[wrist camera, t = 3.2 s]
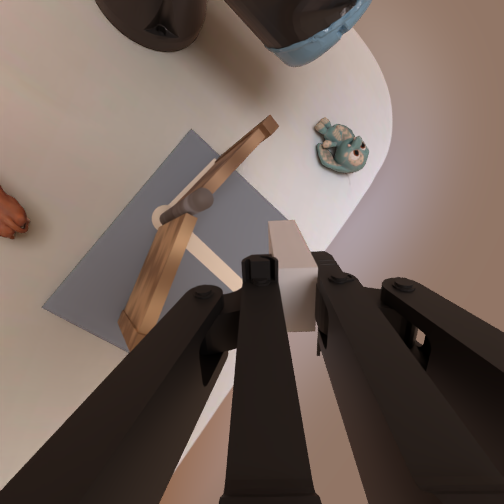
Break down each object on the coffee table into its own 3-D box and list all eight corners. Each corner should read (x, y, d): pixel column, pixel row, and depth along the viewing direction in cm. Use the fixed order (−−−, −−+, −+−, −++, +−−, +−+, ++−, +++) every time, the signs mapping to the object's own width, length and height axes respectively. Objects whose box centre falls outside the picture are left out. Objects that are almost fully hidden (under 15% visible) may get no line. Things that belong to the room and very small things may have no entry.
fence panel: (157, 226, 39) (187, 210, 26) (168, 231, 39) (202, 217, 27) (117, 322, 36) (130, 353, 24) (130, 325, 37) (148, 357, 24)
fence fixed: (166, 230, 40) (204, 213, 27) (155, 219, 39) (188, 197, 26) (227, 165, 45) (285, 124, 31) (218, 155, 44) (274, 108, 31)
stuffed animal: (347, 91, 51) (391, 140, 53) (324, 115, 58) (363, 158, 60) (317, 125, 47) (365, 177, 49) (295, 146, 54) (338, 191, 56)
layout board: (190, 130, 42) (191, 128, 42) (289, 223, 50) (291, 223, 50) (42, 306, 33) (41, 307, 32) (193, 385, 41) (194, 387, 41)
